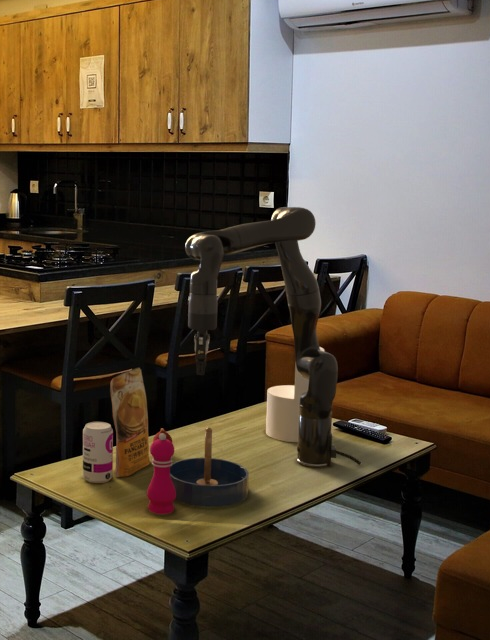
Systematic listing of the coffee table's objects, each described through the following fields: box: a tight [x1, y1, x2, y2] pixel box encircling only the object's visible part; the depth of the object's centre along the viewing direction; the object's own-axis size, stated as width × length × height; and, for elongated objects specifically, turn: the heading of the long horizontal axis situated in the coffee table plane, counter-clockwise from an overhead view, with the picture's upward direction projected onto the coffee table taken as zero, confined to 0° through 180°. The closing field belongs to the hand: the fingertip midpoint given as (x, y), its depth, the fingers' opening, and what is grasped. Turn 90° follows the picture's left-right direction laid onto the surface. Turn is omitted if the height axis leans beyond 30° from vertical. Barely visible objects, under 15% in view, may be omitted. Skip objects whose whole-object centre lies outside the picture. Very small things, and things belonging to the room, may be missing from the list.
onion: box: [152, 428, 174, 444], centre depth 261 cm, size 6×6×8 cm
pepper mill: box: [146, 433, 176, 515], centre depth 218 cm, size 7×7×20 cm
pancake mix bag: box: [109, 367, 151, 478], centre depth 247 cm, size 7×19×28 cm, turn 145°
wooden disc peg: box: [197, 426, 218, 485], centre depth 230 cm, size 6×6×17 cm
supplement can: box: [82, 421, 114, 484], centre depth 240 cm, size 8×8×15 cm
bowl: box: [170, 457, 250, 508], centre depth 231 cm, size 21×21×6 cm
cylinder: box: [265, 346, 326, 443], centre depth 281 cm, size 17×17×28 cm
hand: (201, 371), depth 232 cm, fingers open, 8 cm apart
